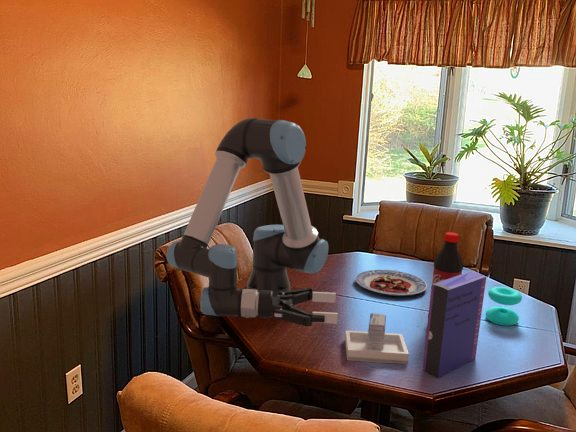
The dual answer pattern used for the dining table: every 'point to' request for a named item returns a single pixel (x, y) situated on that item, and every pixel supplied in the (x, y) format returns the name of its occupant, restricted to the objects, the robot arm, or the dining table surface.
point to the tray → (391, 353)
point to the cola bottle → (448, 260)
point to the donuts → (501, 313)
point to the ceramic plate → (391, 282)
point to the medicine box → (376, 332)
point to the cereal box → (453, 323)
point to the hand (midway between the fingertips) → (336, 307)
